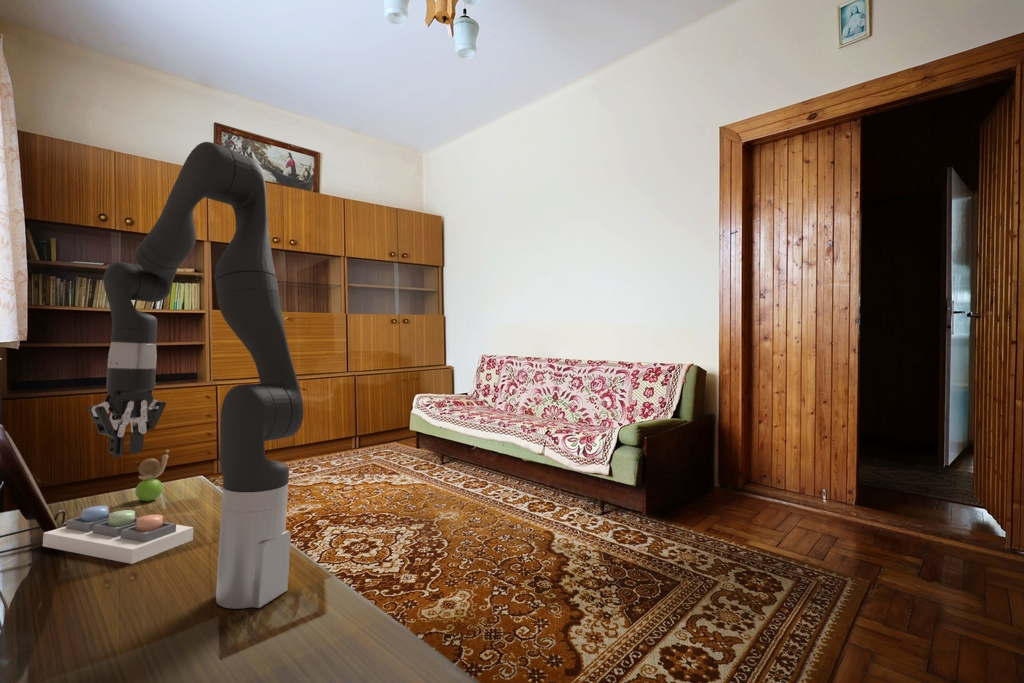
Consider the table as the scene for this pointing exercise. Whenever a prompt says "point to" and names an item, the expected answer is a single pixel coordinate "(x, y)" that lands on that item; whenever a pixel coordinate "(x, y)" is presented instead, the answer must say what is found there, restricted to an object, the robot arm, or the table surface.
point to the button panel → (116, 539)
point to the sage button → (121, 518)
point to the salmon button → (149, 523)
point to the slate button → (94, 514)
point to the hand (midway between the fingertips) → (126, 454)
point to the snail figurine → (150, 478)
